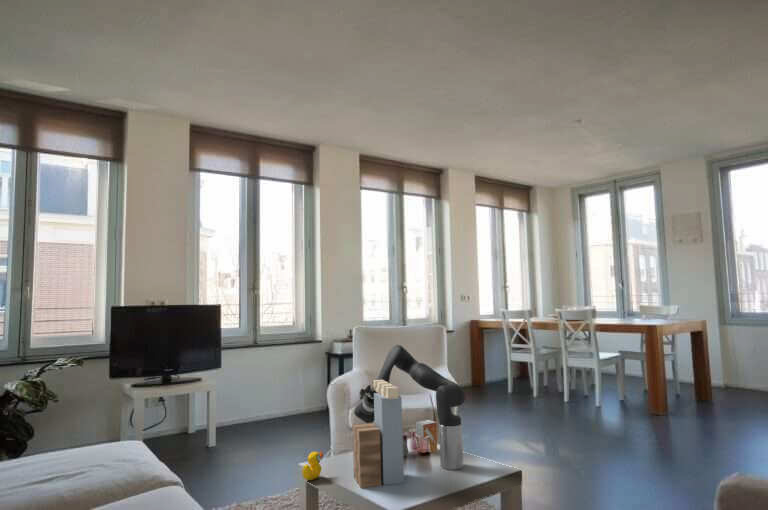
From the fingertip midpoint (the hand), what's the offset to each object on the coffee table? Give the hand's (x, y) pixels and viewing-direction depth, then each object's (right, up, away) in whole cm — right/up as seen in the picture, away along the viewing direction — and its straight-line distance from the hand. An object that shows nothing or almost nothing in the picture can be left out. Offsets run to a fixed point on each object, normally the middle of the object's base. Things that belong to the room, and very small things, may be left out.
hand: (379, 386), depth 210 cm
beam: (+2, -1, -8) cm, 9 cm away
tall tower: (+4, -32, -14) cm, 36 cm away
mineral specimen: (+9, -35, +15) cm, 39 cm away
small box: (+21, -36, +21) cm, 47 cm away
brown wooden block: (-5, -32, -17) cm, 37 cm away
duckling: (-26, -34, -12) cm, 44 cm away
